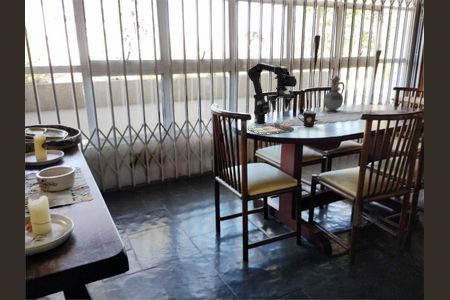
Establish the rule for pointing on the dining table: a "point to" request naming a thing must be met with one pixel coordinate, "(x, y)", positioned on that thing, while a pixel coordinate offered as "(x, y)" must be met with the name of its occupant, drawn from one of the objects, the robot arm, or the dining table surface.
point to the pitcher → (334, 96)
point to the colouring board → (266, 129)
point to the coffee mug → (308, 118)
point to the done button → (286, 126)
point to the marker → (278, 124)
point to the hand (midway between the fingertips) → (280, 109)
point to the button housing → (287, 129)
